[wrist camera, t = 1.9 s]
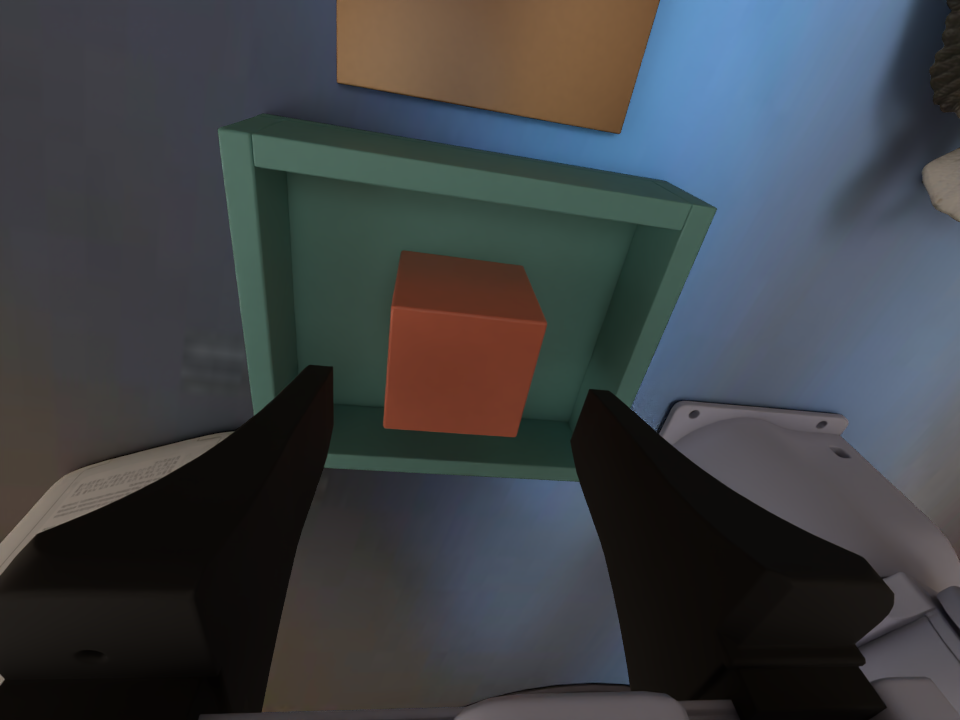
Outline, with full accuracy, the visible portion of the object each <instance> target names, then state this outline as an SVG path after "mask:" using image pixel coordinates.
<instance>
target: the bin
mask: <svg viewBox="0 0 960 720" xmlns="http://www.w3.org/2000/svg"><path fill="white" fill-rule="evenodd" d="M218 137H219V145H220V153H221V161H222V168H223V176H224V184H225V192H226V200H227V208H228V215H229V223H230V231H231V239H232V247H233V255H234V262H235V270H236V278H237V286H238V294H239V302H240V309H241V317H242V325H243V333H244V341H245V349H246V356H247V364H248V372H249V380H250V388H251V396H252V403H253V411H254V415H256V414H257V413H258V412H259V411H260V410H262V409H263V408H264V407H265V406H266V405H267V404H268V403H269V402H270V401H271V400H273V399H274V398H275V397H276V396H277V395H278V394H279V393H280V392H281V391H282V390H283V389H284V388H285V387H286V386H287V385H288V384H290V383H291V382H292V381H293V380H294V379H295V378H296V377H297V375H298V374H299V373H300V372H301V371H302V370H303V369H304V368H305V367H307V366H308V365H321V366H332V367H333V406H334V426H333V431H332V436H331V441H330V446H329V450H328V455H327V459H326V462H325V465H324V468H338V469H356V470H374V471H393V472H411V473H429V474H447V475H466V476H484V477H502V478H520V479H539V480H557V481H575V482H579V479H578V476H577V473H576V468H575V464H574V459H573V454H572V448H571V442H570V440H571V438H572V435H573V432H574V429H575V427H576V424H577V421H578V418H579V416H580V413H581V410H582V407H583V405H584V402H585V399H586V396H587V394H588V391H589V389H597V390H609V391H610V392H612V393H613V394H614V395H615V396H617V397H618V398H619V399H620V400H621V401H622V402H623V403H625V404H626V405H627V406H628V407H629V408H631V406H632V404H633V401H634V399H635V397H636V394H637V392H638V390H639V387H640V385H641V383H642V381H643V378H644V376H645V374H646V371H647V369H648V367H649V364H650V362H651V360H652V357H653V355H654V353H655V351H656V348H657V346H658V344H659V341H660V339H661V337H662V334H663V332H664V330H665V328H666V325H667V323H668V321H669V318H670V316H671V314H672V311H673V309H674V307H675V305H676V302H677V300H678V298H679V295H680V293H681V291H682V288H683V286H684V284H685V281H686V279H687V277H688V275H689V272H690V270H691V268H692V265H693V263H694V261H695V258H696V256H697V254H698V252H699V249H700V247H701V245H702V242H703V240H704V238H705V235H706V233H707V231H708V228H709V226H710V224H711V222H712V219H713V217H714V215H715V212H716V210H717V208H716V207H714V206H712V205H710V204H708V203H706V202H704V201H702V200H701V199H699V198H697V197H695V196H693V195H691V194H689V193H687V192H685V191H684V190H682V189H680V188H678V187H676V186H674V185H672V184H670V183H669V182H667V181H663V180H657V179H651V178H645V177H639V176H633V175H627V174H621V173H615V172H609V171H603V170H597V169H592V168H586V167H580V166H574V165H568V164H562V163H556V162H550V161H544V160H538V159H532V158H526V157H520V156H514V155H508V154H502V153H496V152H490V151H484V150H478V149H472V148H466V147H460V146H454V145H448V144H442V143H436V142H431V141H425V140H419V139H413V138H407V137H401V136H395V135H389V134H383V133H377V132H371V131H365V130H359V129H353V128H347V127H341V126H335V125H329V124H323V123H317V122H311V121H305V120H299V119H293V118H287V117H281V116H275V115H270V114H260V115H257V116H256V117H253V118H249V119H246V120H243V121H240V122H237V123H234V124H231V125H227V126H224V127H221V128H218ZM403 250H405V251H412V252H420V253H428V254H436V255H443V256H451V257H459V258H467V259H474V260H482V261H490V262H497V263H505V264H513V265H521V266H523V267H524V269H525V272H526V274H527V276H528V279H529V281H530V283H531V286H532V288H533V291H534V293H535V295H536V298H537V300H538V302H539V305H540V307H541V310H542V312H543V314H544V317H545V319H546V321H547V328H546V331H545V335H544V338H543V342H542V346H541V349H540V353H539V357H538V360H537V364H536V367H535V371H534V375H533V378H532V382H531V385H530V389H529V393H528V396H527V400H526V404H525V407H524V411H523V414H522V418H521V422H520V425H519V429H518V433H517V436H516V437H502V436H487V435H473V434H458V433H444V432H429V431H415V430H400V429H386V428H384V427H383V418H384V403H385V388H386V373H387V358H388V344H389V329H390V314H391V304H392V299H393V293H394V288H395V282H396V277H397V271H398V266H399V260H400V255H401V251H403Z"/></svg>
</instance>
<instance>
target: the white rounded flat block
mask: <svg viewBox="0 0 960 720" xmlns="http://www.w3.org/2000/svg"><path fill="white" fill-rule="evenodd" d="M233 432H235V431H232V432H223V433H216V434H212V435H206V436H203V437H198V438H194V439H189V440H185V441H181V442H177V443H173V444H169V445H165V446H161V447H157V448H153V449H149V450H145V451H141V452H137V453H134V454H130V455H126V456H121V457H118V458H114V459H109V460H106V461H103V462H99V463H96V464H93V465H89V466H86V467H83V468H80V469H78V470H75V471H73V472H71V473H69V474H67V475H65V476H64V477H62V478H61V479H60V480H58V481H57V482H56V483H55V484H54V485H53V486H52V487H51V488H50V489H49V490H48V491H47V492H46V493H45V494H44V495H43V496H42V498H41V499H40V500H39V501H38V502H37V503H36V504H35V505H34V507H33V508H32V509H31V510H30V511H29V512H28V513H27V514H26V516H25V517H24V518H23V519H22V520H21V521H20V522H19V523H18V525H17V526H16V527H15V528H14V529H13V530H12V531H11V532H10V534H9V535H8V536H7V537H6V538H5V539H4V540H3V541H2V542H1V544H0V575H1V574H2V573H3V571H4V570H5V569H6V568H7V566H8V565H9V564H10V563H11V562H12V560H13V559H14V558H15V557H16V555H17V554H18V553H19V552H20V551H21V550H22V549H23V548H24V547H25V546H26V545H27V544H28V543H29V542H30V541H31V540H32V538H33V537H34V536H35V535H36V534H38V533H40V532H43V531H45V530H48V529H51V528H53V527H56V526H58V525H60V524H63V523H65V522H68V521H70V520H72V519H75V518H77V517H80V516H82V515H85V514H87V513H89V512H92V511H94V510H97V509H99V508H101V507H103V506H106V505H108V504H110V503H112V502H114V501H117V500H119V499H121V498H123V497H125V496H127V495H129V494H131V493H133V492H135V491H137V490H139V489H141V488H143V487H145V486H147V485H149V484H151V483H153V482H155V481H157V480H159V479H161V478H163V477H164V476H166V475H168V474H169V473H171V472H173V471H175V470H176V469H178V468H180V467H182V466H183V465H185V464H187V463H189V462H190V461H192V460H194V459H195V458H197V457H199V456H200V455H202V454H203V453H205V452H206V451H208V450H209V449H211V448H212V447H214V446H215V445H217V444H218V443H220V442H221V441H222V440H224V439H225V438H226V437H228V436H229V435H231V434H232V433H233ZM4 680H5V679H4V678H3V677H2V676H1V674H0V685H1V684H2V682H3V681H4Z"/></svg>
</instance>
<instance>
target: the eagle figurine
mask: <svg viewBox="0 0 960 720" xmlns="http://www.w3.org/2000/svg"><path fill="white" fill-rule="evenodd" d="M947 5H948V7H949V8H950V9H951V12H950V13H949V15H948V16H947V18H946V21H945V25H946V29H945V30H944V32H943V34H942V41H943V44H944V47H943V48H942V49H941V50H939V51H938V52H937V53H936V54H935V63H934V64H933V65H932V66H931V67H930V70H929V73H930V75H931V80H930V85H931V87H932V89H933V90H934V95H933V102H934V104H935V105H940V110H941V111H942V112H943V113H946V112H954V113H956V115H957V117H958V118H959V119H960V0H947ZM922 176H923V181H922V183H923V184H924V186H925V188H926V190H927V191H928V194H929V195H930V199H931V203H932V205H933V207H934V208H935V209H936V210H938V211H940V212H943V213H946V214H948V215H949V216H950V217H952V218H953V219H954V220H956V221H958V222H960V148H957V149H956V150H954V151H951V152H950V153H947V154H946V155H944V156H941V157H939V158H937V159H935V160H933V161H931V162H930V163H928V164H927V165H926V166H925V167H924V168H923V171H922Z"/></svg>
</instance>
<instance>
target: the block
mask: <svg viewBox="0 0 960 720" xmlns="http://www.w3.org/2000/svg"><path fill="white" fill-rule="evenodd" d="M546 328H547V321H546V319H545V317H544V314H543V312H542V310H541V307H540V305H539V302H538V300H537V298H536V295H535V293H534V291H533V288H532V286H531V283H530V281H529V279H528V276H527V274H526V272H525V269H524V267H523V266H521V265H513V264H505V263H497V262H490V261H482V260H474V259H467V258H459V257H451V256H443V255H436V254H428V253H420V252H412V251H405V250H403V251H401V255H400V260H399V266H398V271H397V277H396V282H395V288H394V293H393V299H392V304H391V314H390V329H389V344H388V358H387V373H386V388H385V403H384V418H383V427H384V428H386V429H400V430H415V431H429V432H444V433H458V434H473V435H487V436H502V437H516V436H517V433H518V429H519V425H520V422H521V418H522V414H523V411H524V407H525V404H526V400H527V396H528V393H529V389H530V385H531V382H532V378H533V375H534V371H535V367H536V364H537V360H538V357H539V353H540V349H541V346H542V342H543V338H544V335H545V331H546Z"/></svg>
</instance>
